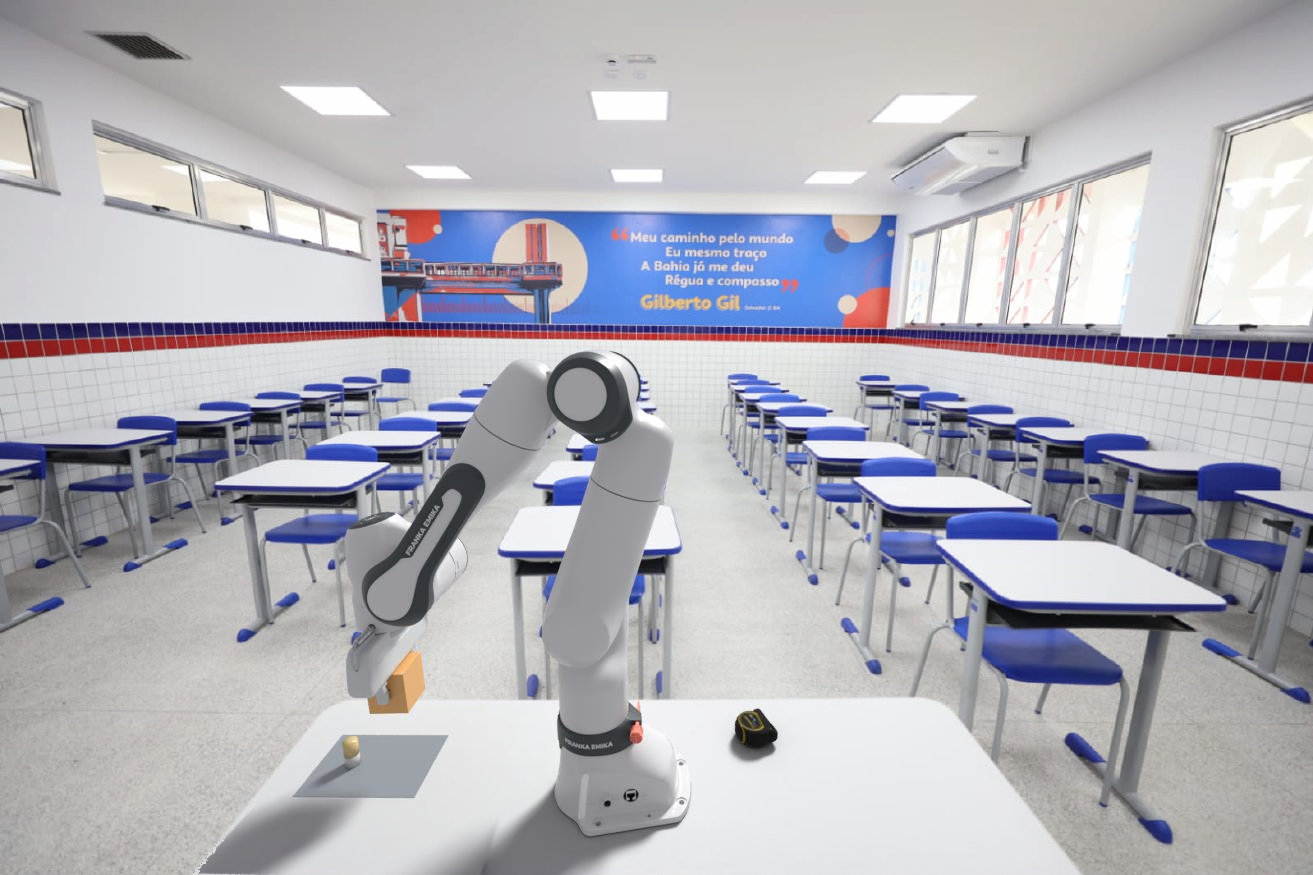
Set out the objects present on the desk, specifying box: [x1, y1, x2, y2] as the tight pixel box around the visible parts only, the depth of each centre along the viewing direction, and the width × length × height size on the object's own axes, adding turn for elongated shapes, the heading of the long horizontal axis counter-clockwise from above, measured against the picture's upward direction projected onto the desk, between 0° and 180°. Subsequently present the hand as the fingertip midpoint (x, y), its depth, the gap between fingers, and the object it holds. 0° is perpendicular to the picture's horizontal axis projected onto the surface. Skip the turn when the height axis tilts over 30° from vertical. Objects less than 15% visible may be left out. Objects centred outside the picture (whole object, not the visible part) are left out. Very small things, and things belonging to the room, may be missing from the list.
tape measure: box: [734, 707, 779, 749], centre depth 103 cm, size 7×7×4 cm
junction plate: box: [292, 734, 449, 799], centre depth 97 cm, size 20×14×6 cm
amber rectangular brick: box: [366, 651, 426, 715], centre depth 94 cm, size 6×6×7 cm
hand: (396, 686), depth 94 cm, fingers closed on amber rectangular brick, 6 cm apart
